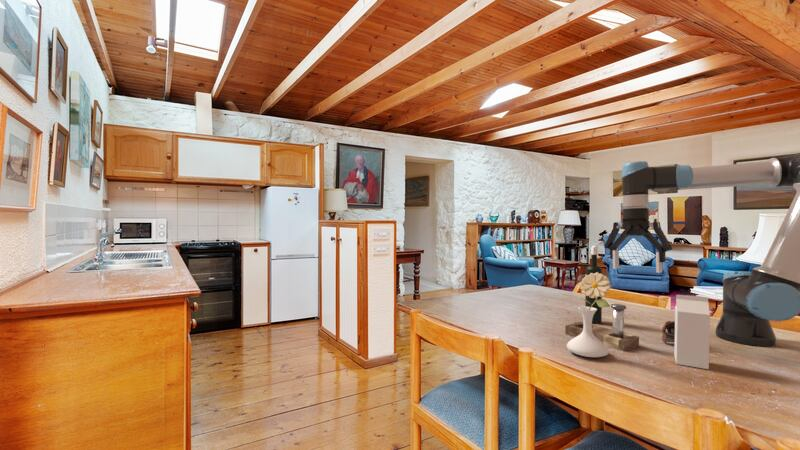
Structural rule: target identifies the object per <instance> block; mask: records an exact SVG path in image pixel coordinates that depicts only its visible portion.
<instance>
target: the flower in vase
mask: <svg viewBox="0 0 800 450" xmlns="http://www.w3.org/2000/svg"><path fill="white" fill-rule="evenodd" d="M610 283H611V282H610V280H609V277H608V276H607V275H604V274H603V273H602V274H599V273H598V272H596V273H594V274H593V273H590V275H586V274H585V276H584V277H582V278H581V281H580V282H579V287H580V289H579V290H581V294H583V295H586V296H589V297H590V298H596V300H595V301H594V303H595V302H596V303H597V305H598V306H599V307H602V308H610V307H611V304H610V303H609V302H608V301H607V300H606V299H604V298H603V297H604V296H605V295H606V294H607V292H609V290H610V289H611V287H612V285H611V284H610ZM598 297H602V299H599V300H597V298H598ZM581 300H583V301H584V302H585V301H586V302H588V301H587V300H585V298H584V297H581ZM588 303H589V302H588ZM594 303H593V304H592V305H591V306H590V307H585V306H578V309H579V311H580V312H581V315H582V320H583V321H582V322H583V324H584V326H583V331H582V333H581V334H580V335H578V336H576V337H573V338H571V339H570V340H569V341H568V342H567V343H566V348H567V350H568V351H570V353H573V354H576V355H578V356H582V357H584V358H585V357H586V358H602V357H605V356H607V355H608V354H609V353H610V350H609V347H608V346H605V345H604V344H603V343H602V342H601V341H600V340H599V339H597V338H596V337H595V336H594V334H593V333H592V325H593V324H592V319H593V315H594V313H595V312H596V311H597V309H596V308H593V307H592V306H593V305H594Z"/></svg>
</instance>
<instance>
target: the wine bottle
mask: <svg viewBox="0 0 800 450" xmlns="http://www.w3.org/2000/svg"><path fill="white" fill-rule="evenodd" d="M590 247H591V248H590V251H591V253H590V254H591V258H590V259H591V261H590V263H591V265H587V266H586V268H585V275H590V273H593V274H594V273H596V272H598V273H599V274H602V275H603V268H602V267H601V266H599V265H598V245H591V246H590ZM584 295H585V294H584ZM584 297H585V298H584V299H585V300H587V301H588V302H589V303H588V302H586V301H585V300H584V302H585V307H590V306H591V305H592V304H593V303H594V301H595V300H596V298H590V297H589V296H586V295H585V296H584ZM599 299H603V296H602V297H598V298H597V300H599ZM592 307H593V308H596V309H597V311H596V312H595V313H594V315H593V319H592V325H600V324H602V319H603V318H602V315H603V314H602V313H603V311H602V309H603V307H599V306H598V305H597V303H596V302H595V303H594V305H593V306H592Z"/></svg>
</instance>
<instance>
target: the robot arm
mask: <svg viewBox="0 0 800 450" xmlns="http://www.w3.org/2000/svg"><path fill="white" fill-rule="evenodd" d="M621 167H622V170H621V171H622V172H621V182H622V183H621V185H622V186H621V187H622V208H623V209H622V220H623V221H622V222H619V221H617V222H613V225H612V229H611V232H610V234H609V236H608V238H607V240H606V242H605V244H604V245H603V246H604V248H605V249H608V250H609V253H610V254H609V255H610V256H609V257H610V260H612V269H613V270H616V269H620V259H619V258H620V257H619V256H620V254H619V253H620V252H619V251H620V250H619V249H618V248H619V246H620V245H621V244H622V243H623V242H624V241H625V240H626V239H627V238H628V237H629V236H643V237H644V238H646V240H647V241H648V242H649V243H651V245H652V246H653V247H654V248H655V249H656V250H657V251H656V252H655V270H656V271H655V272H656V273H659V274H661V273H663V263H666V252H669V251H672V250H673V246H672V245H671V243H670V242H669V240H668V238H667V236H666V235H665V233H664V232H663V231H664V230H662V227H661V223H660V221H654V222H650V221H649V220H650V211H649V210H650V209H649V208H648V207H649V190H650V191H652V192H654V193H661V192H671V191H682V190H684V191H685V190H698V189H715V188H731V187H747V186H760V185H761V186H762V185H763V186H765V185H768V186H769V187H770V188H778V187H787V188H789V187H791V188H792V187H793V188H794V189H795V191H796V193H795V196H794V198H793V200H792V201H791V203H790V206H789V208H788V210H787V212H786V214H785V216H784V218H783V219H782V223H781V224H780V227H779V229H778V231H777V233H776V235H775V236H774V240H773V242H772V244H771V246H770V248H769V250H768V252H767V254H766V256H765V258H764V260H763V263H762V264H761V265H760V266H757V267H754V268H752V270H751V271H743V270H742V271H740V270H739V271H737V270H729V271H728V270H727V271H725V272H724V273H723V278H722V314H721V316H720V318H719V321H717V325H716V327H715V335H716V336H717V337H718V338H720V339H723V340H725V341H729V342H733V343H738V344H743V345H750V346H759V347H771V346H775V345H777V338H776V335H775V332H774V329H773V327H772V324H771V321H772V322H783V321H788V320H791V319H793V318H795V317H797V316H798V315H799V314H800V152H798V153H795V154H790V155H785V156H781V157H780V156H778V157H771V158H769V159H768V160H767V161H757V162H755V161H754V162H744V163H734V164H723V165H722V164H721V165H711V166H698V167H691V166H690V165H689V164H676V165H667V166H666V165H664V166H649V164H648V161H646V160H645V161H644V160H643V161H642V160H641V161H639V160H638V161H629V162H625V163H624V164H623V165H622V166H621ZM621 228H623V231H622V232H621V233H620V235H619V236H618V234H619V231H620V230H621ZM650 228H651V229H653V230H654V233H655V235H656V236H657V238H658V240H659V241H658V240H657V239H656V238H655V236H654V235H653V234H652V233H651V231H650V230H649V229H650ZM617 236H618V238H617Z"/></svg>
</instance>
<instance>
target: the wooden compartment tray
mask: <svg viewBox="0 0 800 450" xmlns="http://www.w3.org/2000/svg"><path fill="white" fill-rule="evenodd" d="M583 326H584V324H583V321H579V322H575V323H571V324H570V323H569V324H566V325H565V329H564V330H565V335H566V336H567V335H568V336H571V337H573V338H575V337H576V336H578V335H580V334H581V333H582V331H583ZM592 333H593V334H594V336H595V337H596V338H597V339H599V340H600V341H601V342H602V343H603V344H604V345H605V346H606V347H607V348H612V349H614V350H619V351H622V352H625V351H628V350H631V349H634V348H637V347H639V346H640V336H638V335H633V334H630V333H627V332H624V339H621V338H617V337H613V336H612V329H609V328H606V327H602V326H598V325H596V324H592Z"/></svg>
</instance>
